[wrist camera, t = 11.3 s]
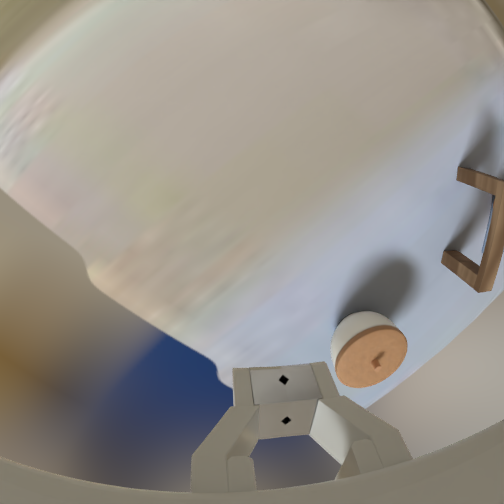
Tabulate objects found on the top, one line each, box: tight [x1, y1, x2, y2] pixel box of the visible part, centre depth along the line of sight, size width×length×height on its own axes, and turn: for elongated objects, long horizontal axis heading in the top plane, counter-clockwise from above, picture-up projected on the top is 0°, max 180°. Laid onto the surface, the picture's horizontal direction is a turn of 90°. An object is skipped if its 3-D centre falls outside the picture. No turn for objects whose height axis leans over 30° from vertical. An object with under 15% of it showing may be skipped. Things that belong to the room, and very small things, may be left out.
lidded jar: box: [330, 311, 407, 388], centre depth 42 cm, size 11×11×9 cm
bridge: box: [441, 167, 504, 293], centre depth 36 cm, size 3×15×10 cm, turn 179°
